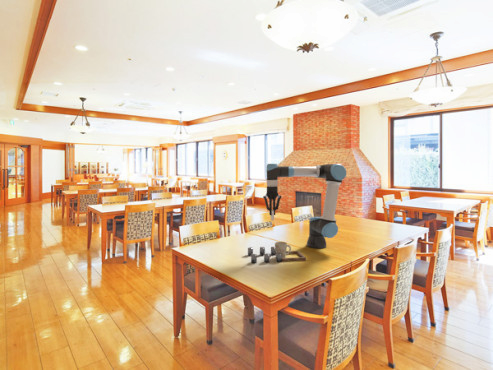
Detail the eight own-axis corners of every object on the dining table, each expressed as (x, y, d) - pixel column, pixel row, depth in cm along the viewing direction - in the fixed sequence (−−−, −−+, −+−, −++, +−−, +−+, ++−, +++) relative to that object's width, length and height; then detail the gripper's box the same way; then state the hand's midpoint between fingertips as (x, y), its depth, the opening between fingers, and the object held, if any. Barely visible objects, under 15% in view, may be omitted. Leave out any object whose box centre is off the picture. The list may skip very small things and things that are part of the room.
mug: (272, 256, 189) (272, 242, 188) (286, 254, 195) (286, 240, 194) (279, 260, 182) (279, 245, 181) (294, 257, 188) (294, 243, 187)
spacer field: (275, 253, 197) (275, 246, 196) (282, 262, 178) (282, 254, 178) (247, 254, 194) (247, 247, 193) (251, 263, 175) (251, 255, 175)
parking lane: (298, 253, 198) (298, 250, 197) (305, 260, 182) (306, 257, 182) (275, 254, 195) (276, 251, 195) (281, 261, 180) (281, 258, 180)
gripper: (279, 185, 194) (279, 218, 196) (261, 185, 192) (262, 219, 193) (282, 186, 187) (283, 220, 188) (264, 186, 184) (264, 221, 186)
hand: (272, 219), depth 191 cm, fingers closed
